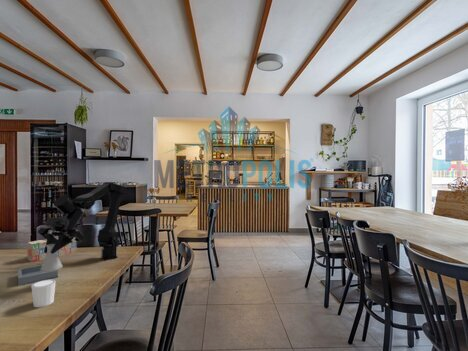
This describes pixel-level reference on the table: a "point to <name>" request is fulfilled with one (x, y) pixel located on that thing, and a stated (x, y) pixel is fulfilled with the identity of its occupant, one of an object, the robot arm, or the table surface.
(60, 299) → the table surface
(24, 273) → the tray
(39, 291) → the white cup
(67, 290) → the table surface
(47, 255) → the light grey vase
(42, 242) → the stack of blocks
